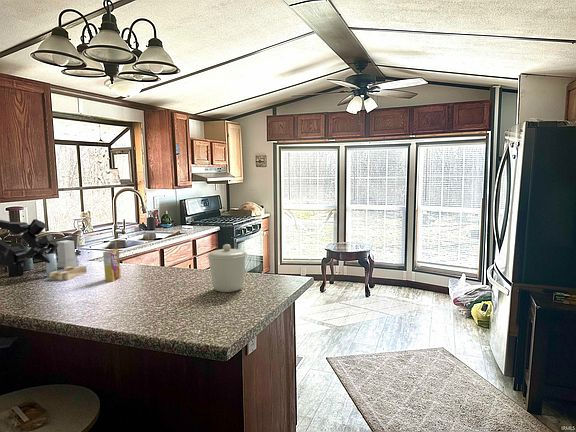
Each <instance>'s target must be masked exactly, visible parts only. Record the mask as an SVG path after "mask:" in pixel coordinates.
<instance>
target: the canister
mask: <svg viewBox="0 0 576 432" xmlns="http://www.w3.org/2000/svg"><path fill="white" fill-rule="evenodd" d="M247 255H248V253H247V252H245V251H244V250H242V249H237V248H232V246H231V244H228V243H226V244H223V245H222V248H221V249H215V250H212V251H210V252H209V253H207V255H206V257H207V258H208V263H209V270H210V278H211V283H212V287H213V289H214V291H217V292H220V293H231V292H233V293H234V292H237V291H239V290H241V289H242V287H243V286H244V279H245V278H244V277H245V269H246V267H245V266H246V256H247Z"/></svg>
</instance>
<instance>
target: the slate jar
mask: <svg viewBox="0 0 576 432" xmlns="http://www.w3.org/2000/svg"><path fill="white" fill-rule="evenodd" d="M55 253H56V252H55ZM55 253H51V254H47V253H46V254H44V255H45V256H46V257H47V258H48V259H49V261H50V263H47V262H45V269H46V270H45V271H46V277H47V278H50V274H49V273H52V272H54V271H58V265H57V264H58V263H57V262H58V260H57V261H56V255H57V254H55Z"/></svg>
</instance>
